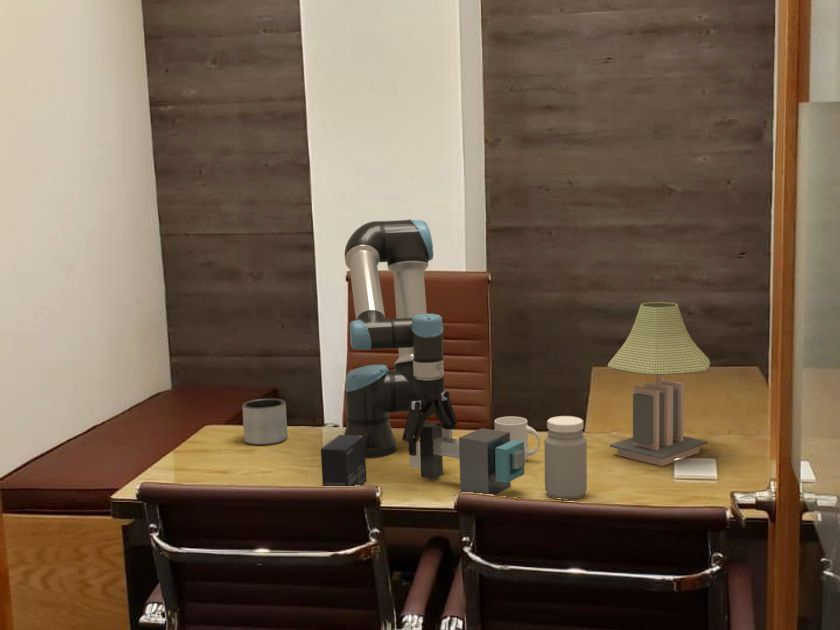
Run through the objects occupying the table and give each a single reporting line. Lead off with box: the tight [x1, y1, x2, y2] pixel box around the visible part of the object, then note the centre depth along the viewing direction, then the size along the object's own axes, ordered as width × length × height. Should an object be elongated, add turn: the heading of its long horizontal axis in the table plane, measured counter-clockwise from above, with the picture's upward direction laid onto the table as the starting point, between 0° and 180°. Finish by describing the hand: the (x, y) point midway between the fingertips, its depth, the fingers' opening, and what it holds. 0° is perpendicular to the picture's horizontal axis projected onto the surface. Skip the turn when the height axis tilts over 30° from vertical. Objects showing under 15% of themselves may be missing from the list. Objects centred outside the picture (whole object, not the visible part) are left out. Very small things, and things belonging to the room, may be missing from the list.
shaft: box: [418, 421, 526, 480], centre depth 248 cm, size 28×4×13 cm, turn 54°
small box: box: [320, 434, 368, 487], centre depth 251 cm, size 13×7×12 cm, turn 163°
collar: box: [495, 440, 525, 483], centre depth 242 cm, size 3×8×8 cm, turn 144°
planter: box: [242, 397, 288, 446], centre depth 297 cm, size 12×13×11 cm
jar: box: [543, 415, 588, 500], centre depth 241 cm, size 10×10×18 cm
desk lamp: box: [607, 301, 711, 467], centre depth 270 cm, size 26×28×40 cm
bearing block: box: [458, 427, 512, 496], centre depth 246 cm, size 8×10×14 cm
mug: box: [494, 416, 541, 462], centre depth 270 cm, size 9×12×11 cm
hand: (431, 460), depth 256 cm, fingers open, 13 cm apart
